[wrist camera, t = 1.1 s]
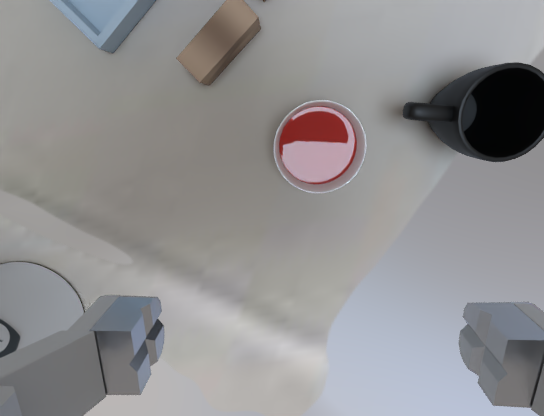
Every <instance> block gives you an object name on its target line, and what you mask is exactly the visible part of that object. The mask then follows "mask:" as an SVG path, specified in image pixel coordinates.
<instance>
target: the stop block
mask: <svg viewBox="0 0 544 416" xmlns="http://www.w3.org/2000/svg"><path fill="white" fill-rule="evenodd" d="M260 29H261V27H260V22H259V18H258V16H257V15H256V14H255V13H254V12H253V11H252V9H251V8H250V7H249V6H248V5H247V4H246V3H245V2H244V0H226V1H225V2H224V4H223V5H222V6H221V7H220V8H219V9H218V11H217V12H216V13H215V14H214V15H213V16H212V18H211V19H210V20H209V21H208V22H207V23H206V24H205V26H204V27H203V28H202V29H201V30H200V31H199V33H198V34H197V35H196V36H195V37H194V38H193V40H192V41H191V42H190V43H189V44H188V45H187V46H186V48H185V49H184V50H183V51H182V52H181V53H180V55H179V56H178V57H177V58H176V59H177V60H178V61H179V62H180V63H181V64H182V65H183V66H184V67H185V68H186V69H187V70H188V71H189V72H190V73H191V74H192V75H193V76H194V77H195V78H196V79H197V80H198V81H199V82H200V83H203V84H206V85H210V84H211V83H212V82H213V81H214V80H215V79H216V78H217V77H218V76H219V74H220V73H221V72H222V71H223V70H224V69H225V68H226V67H227V66H228V65H229V63H230V62H231V61H232V60H233V59H234V58H235V57H236V56H237V55H238V54H239V52H240V51H241V50H242V49H243V48H244V47H245V46H246V45H247V44H248V43H249V41H250V40H251V39H252V38H253V37H254V36H255V35H256V34H257V33H258V32H259V30H260Z"/></svg>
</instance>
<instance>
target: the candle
mask: <svg viewBox="0 0 544 416" xmlns="http://www.w3.org/2000/svg"><path fill="white" fill-rule="evenodd" d="M365 154H366V136H365V132H364V129H363V126H362V124H361V122H360V121H359V119H358V118H357V116H356V115H355V114H354V113H353V112H352V111H351V110H349V109H348V108H347V107H345V106H343V105H341V104H339V103H337V102H334V101H329V100H314V101H310V102H306V103H304V104H302V105H300V106H298V107H296V108H295V109H293V110H292V111H291V112H290V113H288V114H287V116H286V117H285V118H284V119H283V120H282V122H281V124H280V125H279V127H278V129H277V132H276V135H275V139H274V158H275V162H276V165H277V167H278V169H279V171H280V173H281V174H282V176H283V177H284V178H285V179H286V180H287V181H288V182H289V183H290V184H291V185H293V186H294V187H296V188H298V189H300V190H302V191H305V192H309V193H327V192H331V191H334V190H337V189H339V188H341V187H343V186H344V185H346V184H347V183H348V182H350V181H351V180H352V179H353V178H354V177H355V175H356V174H357V173H358V171H359V170H360V168H361V166H362V164H363V161H364V158H365Z"/></svg>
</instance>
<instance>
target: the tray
mask: <svg viewBox="0 0 544 416" xmlns="http://www.w3.org/2000/svg"><path fill="white" fill-rule="evenodd" d="M50 1H51V2H52V3H53V4H54V5H55V6H56V7H57V8H58V9H59V10H60V11H61V12H62V13H63V14H64V15H65V16H66V17H67V18H68V19H69V20H70V21H71V22H72V23H73V24H74V25H75V26H76V27H77V28H78V29H80V30H81V31H82V32H83V33H84V34H85V35H86V36H87V37H88V38H89V39H90V40H91V41H92V42H93V43H94V44H95V45H96V46H97V47H98V48H99V49H101V50H104V51H108V52H111V53H114V52H115V50H116V49H117V48H118V47H119V45H120V44H121V43H122V42H123V41H124V39H125V38H126V37H127V36H128V34H129V33H130V32H131V31H132V29H133V28H134V27H135V26H136V24H137V23H138V22H139V21H140V20H141V18H142V17H143V16H144V15H145V13H146V12H147V11H148V10H149V8H150V7H151V6H152V5H153V4H154V2H155V1H156V0H50Z"/></svg>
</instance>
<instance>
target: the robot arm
mask: <svg viewBox="0 0 544 416" xmlns="http://www.w3.org/2000/svg"><path fill="white" fill-rule="evenodd" d="M161 312H162V309H161V302H160V300H159V298H158V297H146V296H120V295H105V296H100V297H99V298H98V299H97V300H96V301H95V302H94V304H93V305H92V306H91V307H90V308H89V309H88V310H87V311H86V312H85V313H84V311H83V307H82V304H81V301H80V299H79V297H78V296H77V294H76V292H75V291H74V290H73V288H72V287H71V286H70V285H69V284H68V283H67V282H66V281H65V280H64V279H63V278H62V277H60V276H59V275H57V274H56V273H54V272H53V271H51V270H49V269H47V268H45V267H42V266H39V265H36V264H32V263H27V262H10V263H4V264H0V416H83V415H84V414H86V412H88V411H89V410H90V409H92V408H93V407H94V406H95V405H97V404H98V403H99V402H100V401H101V400H103V399H104V398H105V397H106V395H141V393H142V391H143V389H144V387H145V385H146V383H147V381H148V379H149V377H150V375H151V370H150V366H151V365H153V364H154V363H156V362H157V361H158V359H159V357H160V355H161V353H162V349H163V344H164V325H163V324H162V323H161V322H160V321H159V320H158V317H159V315H160V313H161ZM463 318H464V319H465V321H466V323H467V325H466V326H465V327H464V328H463V329H462V330H461V331H460V337H459V347H460V354H461V356H462V359H463V362H464V363H465V365H466V366H467V368H468V369H469V370H470V371H472V372H474V373H475V374H477V375H478V376H479V379H478V384H479V386H480V387H481V388H482V390H483V392H484V393H485V394H486V396H487V397H488V399H489V400H490V402H491V403H492V405H494V406H511V407H527V408H532V409H531V410H533V411H534V412H535V413H537V414H538V415H539V416H544V312H543V311H542V310H541V309H540V308H538V307H537V306H536V305H535V304H532V303H529V302H503V303H502V302H501V303H500V302H499V303H467V305H466V307H465V308H464V313H463Z"/></svg>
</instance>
